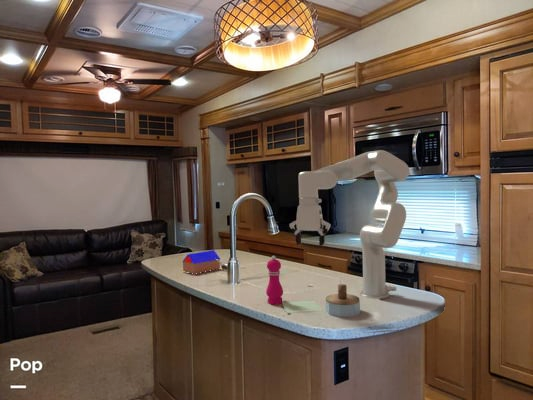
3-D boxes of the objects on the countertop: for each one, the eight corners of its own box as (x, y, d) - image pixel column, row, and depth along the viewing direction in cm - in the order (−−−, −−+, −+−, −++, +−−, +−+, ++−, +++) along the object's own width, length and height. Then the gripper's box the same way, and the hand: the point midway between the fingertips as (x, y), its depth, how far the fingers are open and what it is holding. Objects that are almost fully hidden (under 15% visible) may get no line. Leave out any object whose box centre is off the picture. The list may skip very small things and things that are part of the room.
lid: (353, 295, 156) (352, 280, 156) (364, 304, 144) (363, 288, 143) (322, 296, 155) (322, 282, 155) (331, 306, 142) (330, 290, 142)
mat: (314, 301, 165) (314, 300, 165) (323, 311, 152) (323, 310, 151) (282, 303, 164) (282, 302, 164) (287, 314, 150) (287, 312, 150)
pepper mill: (273, 306, 161) (271, 258, 161) (263, 302, 167) (261, 255, 166) (286, 302, 165) (285, 255, 165) (276, 299, 171) (275, 253, 171)
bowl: (352, 307, 156) (352, 295, 156) (363, 317, 144) (363, 303, 144) (323, 309, 155) (323, 296, 154) (331, 319, 143) (331, 305, 143)
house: (220, 269, 242) (220, 250, 241) (194, 275, 227) (193, 255, 227) (208, 267, 250) (207, 249, 249) (182, 272, 235) (181, 253, 235)
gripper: (332, 201, 155) (333, 244, 156) (292, 202, 163) (293, 242, 164) (326, 202, 149) (327, 247, 149) (285, 203, 156) (286, 245, 157)
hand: (310, 244), depth 156 cm, fingers open, 9 cm apart
